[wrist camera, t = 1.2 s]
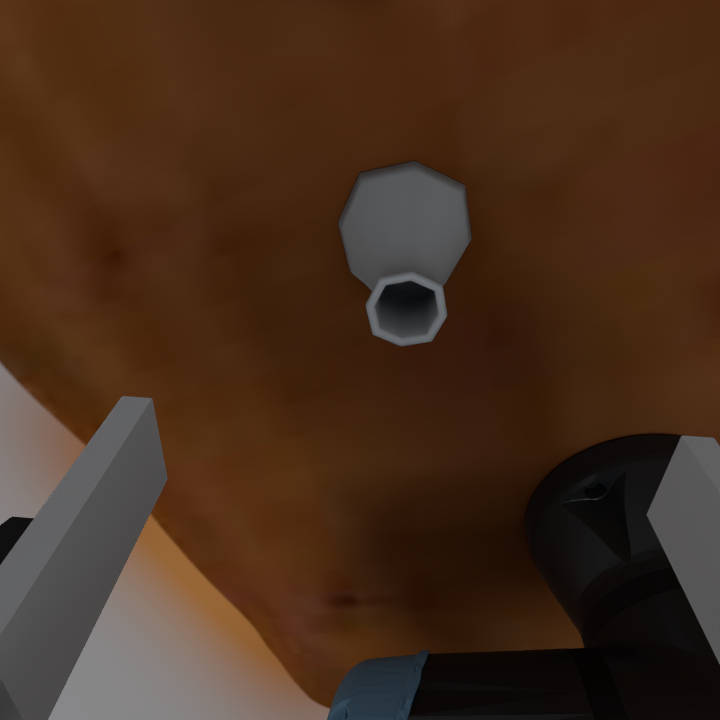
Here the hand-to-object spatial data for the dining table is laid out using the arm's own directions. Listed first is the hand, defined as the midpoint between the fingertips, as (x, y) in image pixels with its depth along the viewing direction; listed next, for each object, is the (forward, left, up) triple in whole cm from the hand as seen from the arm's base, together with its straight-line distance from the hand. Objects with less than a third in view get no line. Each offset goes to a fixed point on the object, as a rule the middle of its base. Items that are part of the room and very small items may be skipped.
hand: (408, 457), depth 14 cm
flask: (0, 0, -19) cm, 19 cm away
